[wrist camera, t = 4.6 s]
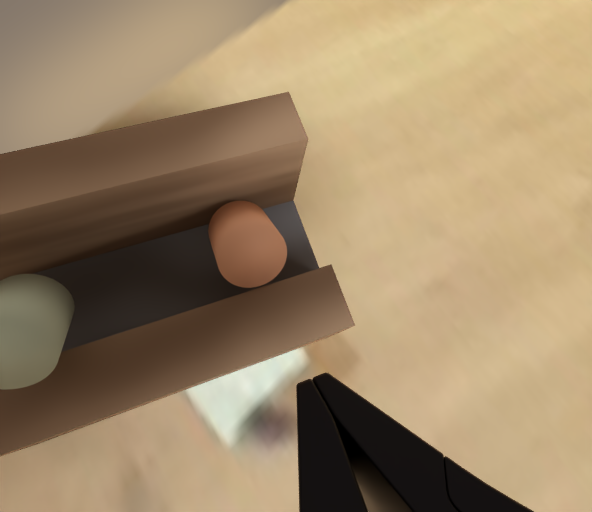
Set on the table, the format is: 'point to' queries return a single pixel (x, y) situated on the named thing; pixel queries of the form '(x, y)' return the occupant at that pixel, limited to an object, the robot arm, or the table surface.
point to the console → (157, 260)
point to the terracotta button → (246, 244)
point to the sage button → (31, 328)
